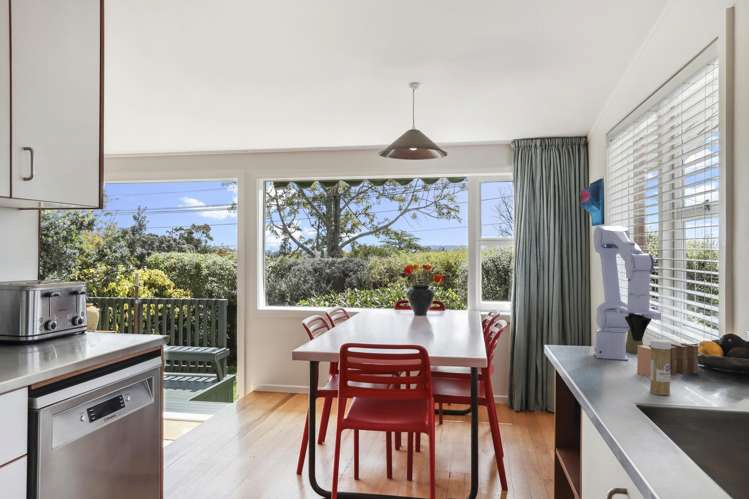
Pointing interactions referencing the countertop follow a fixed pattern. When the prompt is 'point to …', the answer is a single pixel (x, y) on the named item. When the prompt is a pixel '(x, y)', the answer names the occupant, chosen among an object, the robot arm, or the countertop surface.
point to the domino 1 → (644, 360)
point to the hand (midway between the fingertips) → (637, 340)
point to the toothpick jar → (660, 366)
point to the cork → (632, 344)
